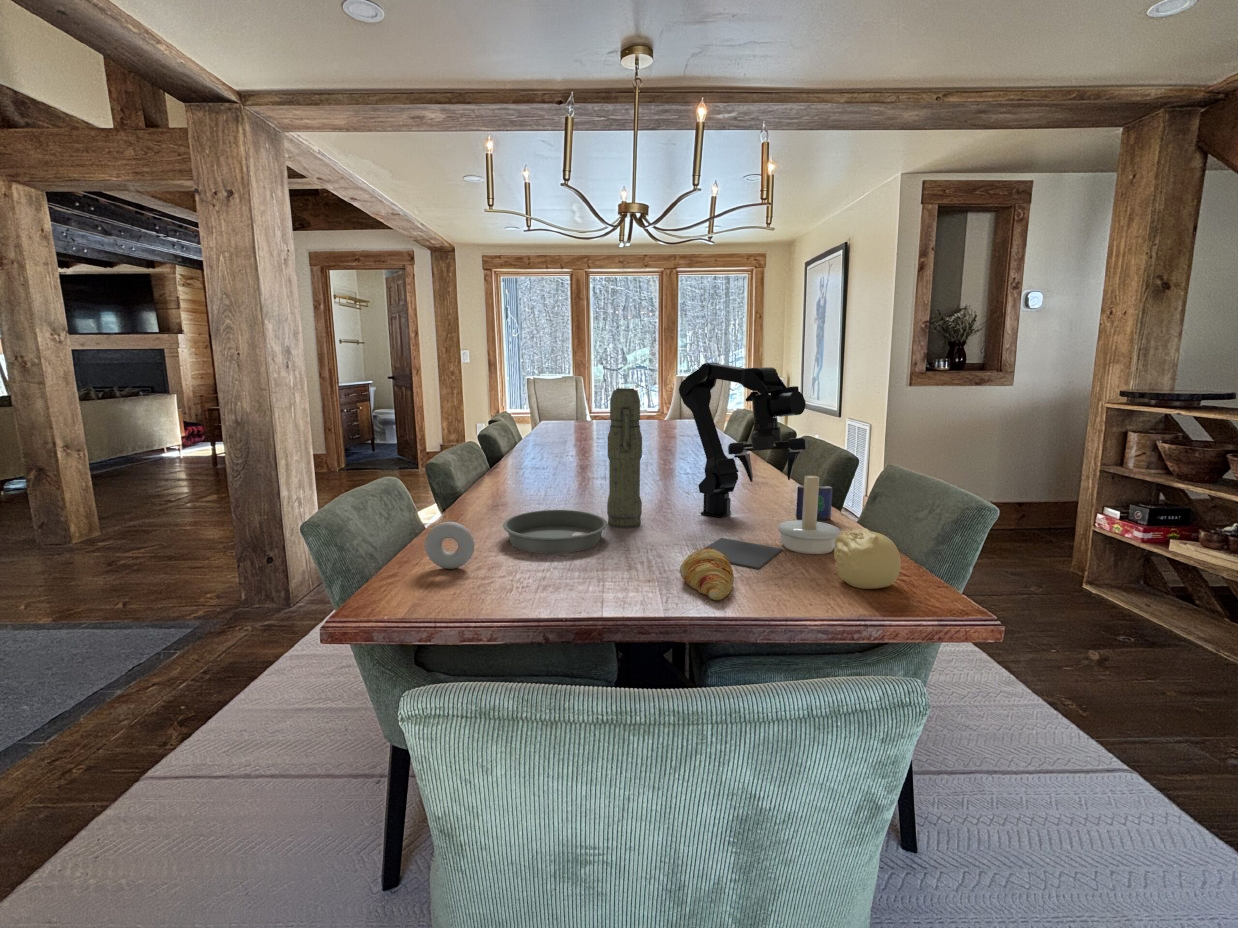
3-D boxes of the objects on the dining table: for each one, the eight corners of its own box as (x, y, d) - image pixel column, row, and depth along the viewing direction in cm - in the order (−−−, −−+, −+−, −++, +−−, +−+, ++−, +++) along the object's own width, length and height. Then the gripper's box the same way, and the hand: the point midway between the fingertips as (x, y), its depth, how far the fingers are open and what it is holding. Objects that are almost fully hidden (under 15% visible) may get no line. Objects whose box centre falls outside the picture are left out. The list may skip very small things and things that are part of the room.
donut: (424, 571, 126) (421, 524, 124) (428, 565, 129) (426, 519, 127) (473, 571, 126) (471, 523, 124) (476, 565, 129) (475, 519, 127)
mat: (693, 556, 136) (693, 554, 136) (721, 539, 148) (721, 537, 148) (758, 569, 128) (758, 567, 128) (782, 550, 140) (782, 548, 140)
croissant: (734, 622, 111) (756, 585, 109) (686, 599, 109) (708, 561, 108) (707, 578, 131) (725, 546, 130) (666, 558, 129) (684, 525, 128)
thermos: (636, 516, 168) (637, 387, 162) (645, 528, 157) (647, 390, 151) (604, 517, 167) (604, 387, 161) (610, 530, 155) (611, 390, 149)
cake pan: (542, 564, 131) (541, 544, 130) (484, 538, 149) (483, 520, 148) (628, 542, 147) (628, 523, 146) (566, 520, 165) (566, 504, 164)
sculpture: (824, 572, 126) (828, 521, 124) (884, 573, 126) (888, 522, 124) (842, 594, 115) (847, 538, 113) (908, 595, 114) (913, 539, 112)
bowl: (775, 548, 141) (775, 533, 140) (791, 536, 151) (792, 522, 150) (826, 558, 135) (827, 542, 134) (840, 544, 144) (841, 529, 144)
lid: (784, 539, 136) (787, 482, 134) (773, 522, 149) (776, 470, 147) (847, 541, 135) (851, 483, 133) (831, 524, 148) (834, 471, 146)
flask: (829, 518, 168) (831, 479, 166) (832, 521, 165) (834, 481, 163) (794, 517, 168) (796, 479, 166) (797, 520, 165) (799, 481, 163)
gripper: (720, 421, 149) (725, 486, 150) (800, 414, 142) (805, 482, 143) (731, 421, 160) (735, 481, 160) (805, 414, 152) (810, 477, 153)
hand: (770, 480), depth 154 cm, fingers open, 9 cm apart
